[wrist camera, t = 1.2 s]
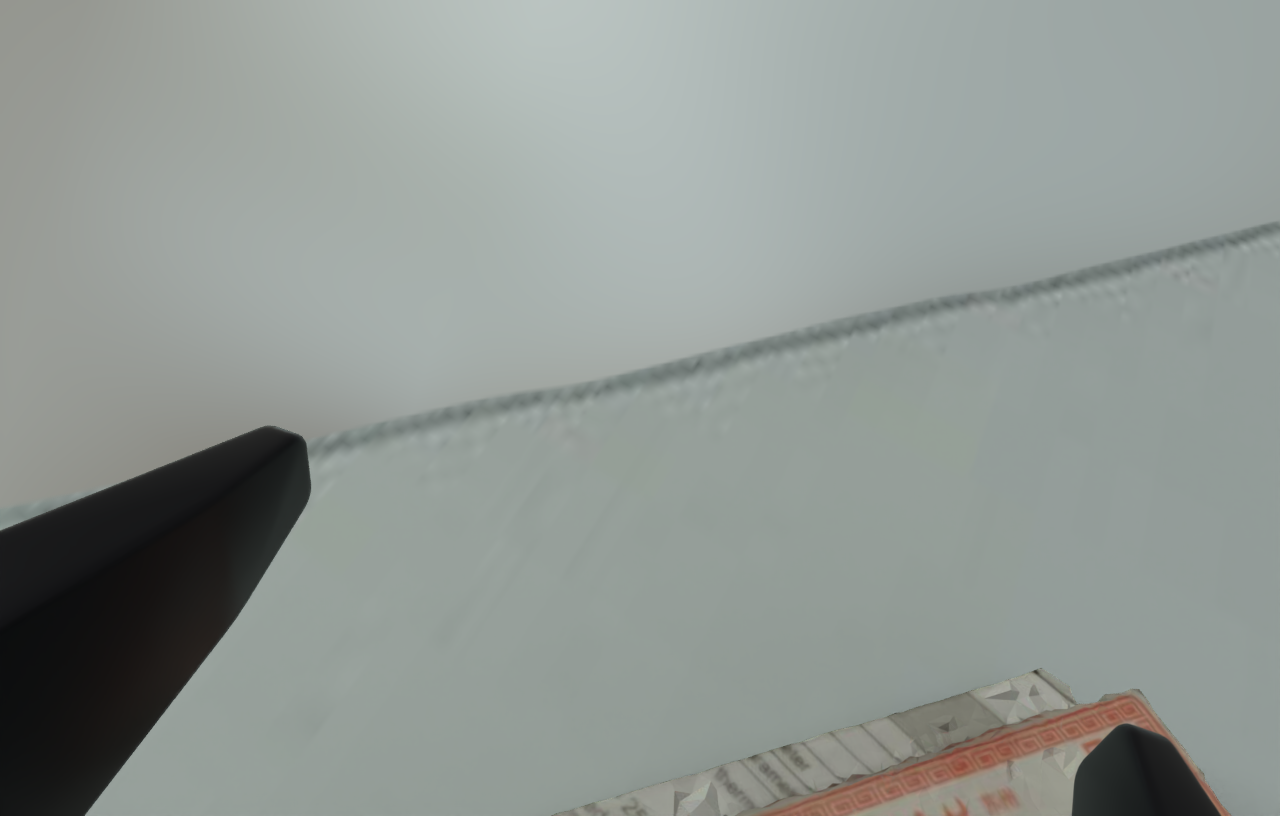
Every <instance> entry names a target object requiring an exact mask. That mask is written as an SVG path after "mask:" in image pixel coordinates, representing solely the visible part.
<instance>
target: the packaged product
mask: <svg viewBox="0 0 1280 816" xmlns="http://www.w3.org/2000/svg"><path fill="white" fill-rule="evenodd" d="M1125 723H1128V724H1132V725H1135V726H1138V727H1141V728H1144V729H1147V730H1150V731H1152V732H1155V733H1158V734H1161V735H1163V736H1165V737H1166V738H1167V739H1169V740H1170V741H1171V742H1172V743H1173V745H1174V746H1175V747H1176V749H1177V750H1178V752H1179V753H1180V755H1181V756H1182V758H1183V759H1184V761H1185V762H1186V764H1187V765H1188V766H1189V768H1190V769H1191V771H1192V772H1193V774H1194V775H1195V777H1196V778H1197V780H1198V781H1199V783H1200V784H1201V786H1202V787H1203V789H1204V790H1205V792H1206V793H1207V795H1208V796H1209V798H1210V799H1211V801H1212V802H1213V804H1214V805H1215V807H1216V808H1217V810H1218V811H1219V813H1220V814H1221V816H1231V814H1230V813H1229V812H1228V811H1227V810H1226V809H1225V808H1224V807H1223V806H1222V804H1221V803H1220V802H1219V800H1218V799H1217V797H1216V795H1215V794H1214V792H1213V791H1212V789H1211V788H1210V786H1209V785H1208V784H1207V783H1206V781H1205V777H1204V773H1203V772H1202V771H1201V770H1200V769H1199V768H1198V767H1197V766H1196V765H1195V764H1194V762H1193V761H1192V759H1191V758H1190V756H1189V754H1188V753H1187V751H1186V750H1185V749H1184V747H1183V746H1182V745H1181V744H1180V743H1179V742H1178V740H1177V739H1176V738H1175V737H1174V735H1173V734H1172V733H1171V732H1170V730H1169V729H1168V728H1167V727H1166V725H1165V724H1164V723H1163V722H1162V720H1161V719H1160V718H1159V717H1158V715H1157V714H1156V713H1155V712H1154V710H1153V709H1152V707H1151V705H1150V703H1149V702H1148V700H1147V699H1146V697H1145V696H1144V695H1143V694H1142V692H1141V691H1140V690H1139V689H1130V690H1128V691H1125V692H1123V693H1118V694H1105V695H1104V696H1103V697H1102V698H1101V699H1100V700H1099V701H1098V702H1096V703H1090V704H1077V702H1076V701H1075V699H1074V697H1073V696H1072V692H1071V689H1070V687H1069V686H1068V685H1066V684H1065V683H1063V682H1062V681H1060V680H1059V679H1057V678H1056V677H1055V676H1053V675H1052V674H1050V673H1048V672H1047V671H1045V670H1043V669H1042V668H1040V669H1037V670H1035V671H1032V672H1029V673H1027V674H1024V675H1021V676H1019V677H1016V678H1014V679H1008V680H1006V681H1004V682H1000V683H997V684H993V685H989V686H986V687H982V688H978V689H975V690H971V691H968V692H966V693H963V694H959V695H956V696H953V697H950V698H947V699H944V700H941V701H937V702H934V703H930V704H926V705H923V706H919V707H916V708H913V709H910V710H907V711H904V712H901V713H895V714H892V715H889V716H887V717H884V718H880V719H877V720H873V721H870V722H867V723H864V724H861V725H857V726H852V727H848V728H843V729H839V730H835V731H832V732H828V733H825V734H822V735H819V736H816V737H813V738H811V739H808V740H805V741H802V742H799V743H795V744H790V745H787V746H783V747H780V748H777V749H773V750H771V751H768V752H765V753H762V754H758V755H755V756H752V757H749V758H746V759H743V760H739V761H735V762H732V763H728V764H724V765H721V766H718V767H715V768H712V769H709V770H706V771H704V772H701V773H698V774H694V775H690V776H686V777H682V778H678V779H674V780H670V781H666V782H663V783H659V784H656V785H653V786H649V787H646V788H642V789H639V790H636V791H632V792H629V793H626V794H623V795H620V796H617V797H614V798H610V799H606V800H602V801H598V802H594V803H591V804H588V805H585V806H582V807H579V808H576V809H573V810H569V811H565V812H561V813H556V814H554V815H552V816H1072V803H1073V788H1074V780H1075V775H1076V772H1077V769H1078V767H1079V765H1080V763H1081V762H1082V761H1083V759H1084V758H1085V757H1086V756H1087V755H1088V754H1089V753H1090V752H1091V751H1092V750H1093V749H1094V748H1095V747H1096V746H1097V745H1098V744H1099V743H1100V742H1101V741H1102V740H1103V739H1104V738H1105V737H1106V736H1107V735H1108V734H1109V733H1110V732H1111V731H1112V730H1113V729H1114V728H1115V727H1116V726H1118V725H1121V724H1125Z"/></svg>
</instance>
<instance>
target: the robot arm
mask: <svg viewBox="0 0 1280 816" xmlns="http://www.w3.org/2000/svg"><path fill="white" fill-rule="evenodd" d="M310 492H311V480H310V471H309V462H308V454H307V446H306V442H305V440H304V439H303V437H302V436H300V435H299V434H296V433H293V432H291V431H288V430H285V429H282V428H279V427H276V426H264V427H260V428H258V429H255V430H253V431H250V432H248V433H245V434H243V435H240V436H238V437H235V438H232V439H230V440H227V441H225V442H222V443H220V444H217V445H215V446H212V447H210V448H208V449H205V450H202V451H200V452H197V453H195V454H192V455H190V456H187V457H185V458H182V459H180V460H177V461H175V462H172V463H169V464H167V465H164V466H162V467H159V468H157V469H154V470H152V471H149V472H147V473H144V474H142V475H139V476H137V477H134V478H132V479H129V480H127V481H124V482H122V483H119V484H116V485H114V486H111V487H109V488H106V489H104V490H101V491H99V492H96V493H94V494H91V495H89V496H86V497H84V498H81V499H79V500H76V501H74V502H71V503H69V504H66V505H64V506H61V507H58V508H56V509H53V510H51V511H48V512H46V513H43V514H41V515H38V516H36V517H33V518H31V519H28V520H26V521H23V522H21V523H18V524H16V525H13V526H11V527H8V528H6V529H3V530H1V531H0V816H85V814H86V813H87V812H88V810H89V809H90V808H91V807H92V805H93V804H94V803H95V801H96V800H97V799H98V797H99V796H100V795H101V794H102V792H103V791H104V790H105V788H106V787H107V786H108V785H109V783H110V782H111V781H112V779H113V778H114V777H115V775H116V774H117V773H118V772H119V770H120V769H121V768H122V766H123V765H124V764H125V763H126V761H127V760H128V759H129V757H130V756H131V755H132V753H133V752H134V751H135V750H136V748H137V747H138V746H139V744H140V743H141V742H142V740H143V739H144V738H145V737H146V735H147V734H148V733H149V731H150V730H151V729H152V728H153V726H154V725H155V724H156V722H157V721H158V720H159V718H160V717H161V716H162V715H163V713H164V712H165V711H166V709H167V708H168V707H169V706H170V704H171V703H172V702H173V700H174V699H175V698H176V696H177V695H178V694H179V693H180V691H181V690H182V689H183V687H184V686H185V685H186V684H187V682H188V681H189V680H190V678H191V677H192V676H193V674H194V673H195V672H196V671H197V669H198V668H199V667H200V665H201V664H202V663H203V661H204V660H205V659H206V658H207V656H208V655H209V654H210V652H211V651H212V650H213V649H214V647H215V646H216V645H217V643H218V642H219V641H220V639H221V638H222V637H223V636H224V634H225V633H226V632H227V630H228V629H229V627H230V626H231V625H232V623H233V622H234V621H235V619H236V618H237V616H238V615H239V613H240V612H241V610H242V609H243V607H244V606H245V604H246V603H247V601H248V600H249V598H250V596H251V595H252V593H253V591H254V590H255V588H256V587H257V585H258V583H259V582H260V580H261V578H262V577H263V575H264V574H265V572H266V570H267V569H268V567H269V565H270V564H271V562H272V560H273V559H274V557H275V556H276V554H277V552H278V551H279V549H280V547H281V546H282V544H283V542H284V541H285V539H286V538H287V536H288V534H289V533H290V531H291V529H292V528H293V526H294V525H295V523H296V521H297V520H298V518H299V516H300V515H301V513H302V511H303V510H304V508H305V506H306V504H307V502H308V500H309V496H310ZM1072 816H1221V814H1220V813H1219V811H1218V810H1217V808H1216V807H1215V805H1214V804H1213V802H1212V801H1211V799H1210V798H1209V796H1208V795H1207V793H1206V792H1205V790H1204V789H1203V787H1202V786H1201V784H1200V783H1199V781H1198V780H1197V778H1196V777H1195V775H1194V774H1193V772H1192V771H1191V769H1190V768H1189V766H1188V765H1187V764H1186V762H1185V761H1184V759H1183V758H1182V756H1181V755H1180V753H1179V752H1178V750H1177V749H1176V747H1175V746H1174V745H1173V743H1172V742H1171V741H1170V740H1169V739H1167V738H1166V737H1165V736H1163V735H1161V734H1158V733H1155V732H1152V731H1150V730H1147V729H1144V728H1141V727H1138V726H1135V725H1132V724H1128V723H1125V724H1121V725H1118V726H1116V727H1115V728H1114V729H1113V730H1112V731H1111V732H1110V733H1109V734H1108V735H1107V736H1106V737H1105V738H1104V739H1103V740H1102V741H1101V742H1100V743H1099V744H1098V745H1097V746H1096V747H1095V748H1094V749H1093V750H1092V751H1091V752H1090V753H1089V754H1088V755H1087V756H1086V757H1085V758H1084V759H1083V761H1082V762H1081V763H1080V765H1079V767H1078V769H1077V772H1076V775H1075V780H1074V788H1073V803H1072Z"/></svg>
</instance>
